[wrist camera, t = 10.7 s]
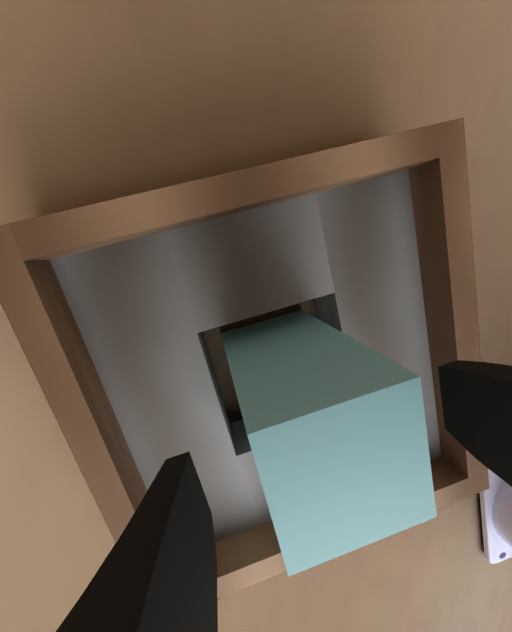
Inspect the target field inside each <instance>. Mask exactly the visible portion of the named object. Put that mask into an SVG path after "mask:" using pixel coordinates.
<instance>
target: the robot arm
mask: <svg viewBox="0 0 512 632" xmlns="http://www.w3.org/2000/svg"><path fill="white" fill-rule="evenodd" d="M438 372H439V381H440V390H441V399H442V408H443V417H444V426H445V429H446V430H447V431H448V432H449V433H450V434H451V435H452V436H453V437H454V438H455V439H456V440H457V441H458V442H459V443H460V444H461V445H462V446H463V447H464V448H465V449H466V450H467V451H468V452H469V453H470V454H471V455H473V456H474V457H475V458H476V459H477V460H478V461H479V462H481V463H482V464H483V465H484V466H486V467H487V468H488V475H489V489H487V490H484V491H482V492H480V504H481V517H482V529H483V542H484V554H485V558H486V559H487V560H488V561H489V562H490V563H491V564H496V563H499V562H501V561H503V560H505V559H508V558H510V557H512V366H508V365H501V364H493V363H485V362H476V361H464V360H456V361H453V362H450V363H447V364H444V365H441V366H438ZM56 632H218V620H217V555H216V545H215V536H214V527H213V518H212V513H211V510H210V507H209V504H208V502H207V499H206V496H205V493H204V490H203V488H202V485H201V482H200V479H199V477H198V474H197V471H196V468H195V466H194V463H193V460H192V457H191V455H190V452H186V453H183V454H180V455H177V456H174V457H171V458H168V459H166V460H165V462H164V463H163V465H162V466H161V468H160V470H159V472H158V473H157V475H156V477H155V478H154V480H153V482H152V484H151V485H150V487H149V489H148V490H147V492H146V494H145V496H144V497H143V499H142V501H141V503H140V504H139V506H138V508H137V509H136V511H135V513H134V514H133V516H132V518H131V519H130V521H129V523H128V524H127V526H126V528H125V529H124V531H123V533H122V534H121V536H120V537H119V539H118V541H117V542H116V544H115V545H114V547H113V548H112V550H111V551H110V553H109V554H108V556H107V558H106V559H105V561H104V562H103V564H102V565H101V567H100V568H99V570H98V571H97V573H96V574H95V576H94V577H93V579H92V580H91V582H90V583H89V585H88V587H87V588H86V590H85V591H84V593H83V594H82V595H81V597H80V598H79V600H78V601H77V603H76V604H75V606H74V607H73V608H72V610H71V611H70V613H69V614H68V615H67V617H66V618H65V620H64V621H63V622H62V624H61V625H60V627H59V628H58V629H57V631H56Z"/></svg>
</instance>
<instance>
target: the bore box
mask: <svg viewBox="0 0 512 632" xmlns="http://www.w3.org/2000/svg"><path fill="white" fill-rule="evenodd" d="M312 299H314V300H315V304H316V309H317V314H318V319H319V320H321V321H323V322H324V323H326V324H328V325H330V326H332V327H333V328H335V329H337V330H339V331H340V332H342V333H344V334H346V335H348V336H349V337H351V338H353V339H355V340H356V341H358V342H360V343H362V344H364V345H365V346H367V347H369V348H371V349H372V350H374V351H376V352H378V353H380V354H381V355H383V356H385V357H387V358H388V359H390V360H392V361H394V362H396V363H397V364H399V365H401V366H403V367H404V368H406V369H408V370H410V371H412V372H413V373H415V374H417V375H419V376H420V378H421V386H422V395H423V403H424V412H425V420H426V429H427V437H428V446H429V454H430V463H431V471H432V480H433V488H434V497H435V506H436V510H438V509H440V508H443V507H445V506H447V505H450V504H452V503H455V502H457V501H460V500H462V499H465V498H467V497H470V496H472V495H474V494H477V493H479V492H482V491H484V490H487V489H489V475H488V468H487V467H486V466H484V465H483V464H482V463H481V462H479V461H478V460H477V459H476V458H475V457H474V456H473V455H471V454H470V453H469V452H468V451H467V450H466V449H465V448H464V447H463V446H462V445H461V444H460V443H459V442H458V441H457V440H456V439H455V438H454V437H453V436H452V435H451V434H450V433H449V432H448V431H447V430H446V429H445V426H444V417H443V408H442V399H441V390H440V381H439V372H438V366H441V365H444V364H447V363H450V362H453V361H456V360H464V361H476V362H481V360H480V345H479V331H478V317H477V302H476V288H475V274H474V259H473V245H472V231H471V216H470V202H469V187H468V173H467V159H466V144H465V130H464V118H460V119H456V120H451V121H447V122H443V123H438V124H434V125H430V126H426V127H421V128H417V129H413V130H408V131H404V132H400V133H396V134H391V135H387V136H383V137H378V138H374V139H370V140H366V141H361V142H357V143H353V144H348V145H344V146H340V147H335V148H331V149H327V150H323V151H318V152H314V153H310V154H305V155H301V156H297V157H293V158H288V159H284V160H280V161H275V162H271V163H267V164H263V165H258V166H254V167H250V168H245V169H241V170H237V171H233V172H228V173H224V174H220V175H215V176H211V177H207V178H202V179H198V180H194V181H190V182H185V183H181V184H177V185H172V186H168V187H164V188H160V189H155V190H151V191H147V192H142V193H138V194H134V195H130V196H125V197H121V198H117V199H112V200H108V201H104V202H99V203H95V204H91V205H87V206H82V207H78V208H74V209H69V210H65V211H61V212H57V213H52V214H48V215H44V216H39V217H35V218H31V219H27V220H22V221H18V222H14V223H9V224H5V225H1V226H0V303H1V305H2V307H3V309H4V311H5V313H6V316H7V318H8V320H9V322H10V324H11V326H12V328H13V330H14V332H15V334H16V336H17V338H18V341H19V343H20V345H21V347H22V349H23V351H24V353H25V355H26V357H27V359H28V361H29V363H30V366H31V368H32V370H33V372H34V374H35V376H36V378H37V380H38V382H39V384H40V386H41V388H42V391H43V393H44V395H45V397H46V399H47V401H48V403H49V405H50V407H51V409H52V411H53V413H54V416H55V418H56V420H57V422H58V424H59V426H60V428H61V430H62V432H63V434H64V436H65V438H66V441H67V443H68V445H69V447H70V449H71V451H72V453H73V455H74V457H75V459H76V461H77V463H78V466H79V468H80V470H81V472H82V474H83V476H84V478H85V480H86V482H87V484H88V486H89V488H90V491H91V493H92V495H93V497H94V499H95V501H96V503H97V505H98V507H99V509H100V511H101V513H102V516H103V518H104V520H105V522H106V524H107V526H108V528H109V530H110V532H111V534H112V536H113V538H114V541H115V543H116V542H117V541H118V539H119V537H120V536H121V534H122V533H123V531H124V529H125V528H126V526H127V524H128V523H129V521H130V519H131V518H132V516H133V514H134V513H135V511H136V509H137V508H138V506H139V504H140V503H141V501H142V499H143V497H144V496H145V494H146V492H147V490H148V489H149V487H150V485H151V484H152V482H153V480H154V478H155V477H156V475H157V473H158V472H159V470H160V468H161V466H162V465H163V463H164V462H165V460H166V459H168V458H171V457H174V456H177V455H180V454H183V453H186V452H190V455H191V457H192V460H193V463H194V466H195V468H196V471H197V474H198V477H199V479H200V482H201V485H202V488H203V490H204V493H205V496H206V499H207V502H208V504H209V507H210V510H211V513H212V518H213V527H214V536H215V545H216V555H217V599H219V598H222V597H224V596H226V595H229V594H231V593H234V592H236V591H239V590H241V589H244V588H246V587H249V586H251V585H253V584H256V583H258V582H261V581H263V580H266V579H268V578H271V577H273V576H276V575H278V574H280V573H283V572H285V571H287V570H286V566H285V563H284V560H283V556H282V553H281V549H280V546H279V542H278V539H277V536H276V532H275V529H274V525H273V522H272V518H271V515H270V511H269V508H268V505H267V501H266V498H265V494H264V491H263V487H262V484H261V481H260V477H259V474H258V470H257V467H256V463H255V460H254V457H253V453H252V450H251V446H250V443H249V439H248V436H247V432H246V429H245V425H244V421H243V419H241V420H238V421H235V422H232V423H230V421H229V417H228V414H227V411H226V408H225V405H224V402H223V398H222V395H221V392H220V389H219V386H218V382H217V379H216V376H215V373H214V370H213V367H212V363H211V360H210V357H209V354H208V351H207V347H206V344H205V341H204V338H203V335H202V332H203V331H207V330H210V329H213V328H217V327H220V326H224V325H227V324H230V323H234V322H237V321H241V320H244V319H247V318H251V317H254V316H257V315H261V314H264V313H268V312H271V311H274V310H278V309H281V308H284V307H288V306H291V305H295V304H298V303H301V302H305V301H308V300H312Z"/></svg>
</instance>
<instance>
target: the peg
mask: <svg viewBox="0 0 512 632" xmlns="http://www.w3.org/2000/svg"><path fill="white" fill-rule="evenodd" d="M220 334H221V337H222V341H223V345H224V349H225V353H226V356H227V360H228V364H229V368H230V372H231V375H232V379H233V383H234V387H235V391H236V394H237V398H238V402H239V406H240V410H241V413H242V417H243V421H244V425H245V429H246V432H247V436H248V439H249V443H250V446H251V450H252V453H253V457H254V460H255V463H256V467H257V470H258V474H259V477H260V481H261V484H262V487H263V491H264V494H265V498H266V501H267V505H268V508H269V511H270V515H271V518H272V522H273V525H274V529H275V532H276V536H277V539H278V542H279V546H280V549H281V553H282V556H283V560H284V563H285V566H286V570H287V573H288V577H289V576H292V575H294V574H297V573H299V572H302V571H304V570H307V569H309V568H311V567H314V566H316V565H319V564H321V563H324V562H326V561H329V560H331V559H334V558H336V557H339V556H341V555H344V554H346V553H349V552H351V551H354V550H356V549H358V548H361V547H363V546H366V545H368V544H371V543H373V542H376V541H378V540H381V539H383V538H386V537H388V536H391V535H393V534H396V533H398V532H401V531H403V530H405V529H408V528H410V527H413V526H415V525H418V524H420V523H423V522H425V521H428V520H430V519H433V518H435V517H437V514H436V506H435V497H434V488H433V480H432V471H431V463H430V454H429V446H428V437H427V429H426V420H425V412H424V403H423V395H422V386H421V378H420V376H419V375H417V374H415V373H413V372H412V371H410V370H408V369H406V368H404V367H403V366H401V365H399V364H397V363H396V362H394V361H392V360H390V359H388V358H387V357H385V356H383V355H381V354H380V353H378V352H376V351H374V350H372V349H371V348H369V347H367V346H365V345H364V344H362V343H360V342H358V341H356V340H355V339H353V338H351V337H349V336H348V335H346V334H344V333H342V332H340V331H339V330H337V329H335V328H333V327H332V326H330V325H328V324H326V323H324V322H323V321H321V320H319V319H317V318H315V317H314V316H312V315H310V314H308V313H307V312H305V311H303V310H299V311H295V312H292V313H289V314H285V315H282V316H278V317H275V318H271V319H268V320H264V321H261V322H258V323H254V324H251V325H247V326H244V327H240V328H237V329H233V330H230V331H227V332H223V333H220Z"/></svg>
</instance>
